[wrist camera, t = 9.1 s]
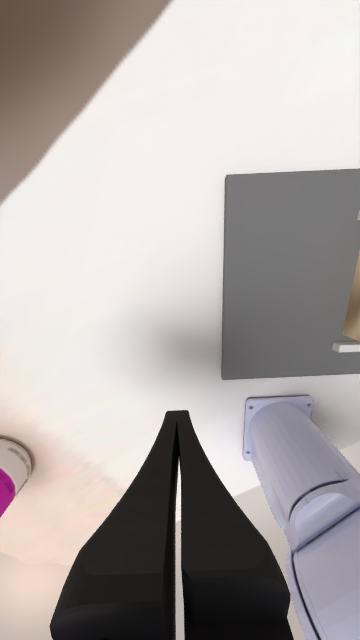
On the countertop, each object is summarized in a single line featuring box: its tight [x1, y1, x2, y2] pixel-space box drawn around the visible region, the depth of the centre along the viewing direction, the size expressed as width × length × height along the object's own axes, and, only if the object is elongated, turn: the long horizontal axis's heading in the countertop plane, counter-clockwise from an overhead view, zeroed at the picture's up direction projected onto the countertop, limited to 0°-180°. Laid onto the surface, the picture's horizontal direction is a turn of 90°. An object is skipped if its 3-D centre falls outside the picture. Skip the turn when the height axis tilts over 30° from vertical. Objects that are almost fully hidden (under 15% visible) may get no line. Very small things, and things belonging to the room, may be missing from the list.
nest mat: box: [221, 169, 360, 380], centre depth 18 cm, size 20×24×1 cm
